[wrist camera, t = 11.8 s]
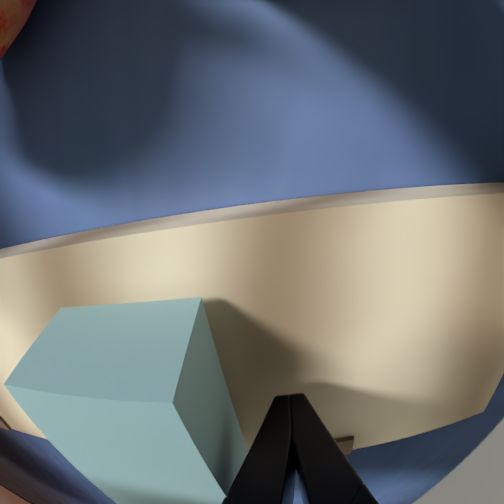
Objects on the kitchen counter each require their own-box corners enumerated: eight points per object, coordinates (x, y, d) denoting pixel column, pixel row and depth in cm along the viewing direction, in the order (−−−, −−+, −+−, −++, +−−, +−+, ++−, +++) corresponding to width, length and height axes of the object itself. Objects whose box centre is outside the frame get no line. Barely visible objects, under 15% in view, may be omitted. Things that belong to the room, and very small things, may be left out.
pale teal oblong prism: (201, 297, 7) (172, 402, 4) (256, 475, 11) (255, 537, 8) (61, 307, 7) (3, 384, 5) (164, 472, 11) (153, 529, 8)
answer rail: (534, 181, 7) (558, 192, 6) (475, 396, 11) (485, 414, 10) (-100, 275, 9) (-112, 284, 8) (-27, 402, 14) (-35, 413, 13)
